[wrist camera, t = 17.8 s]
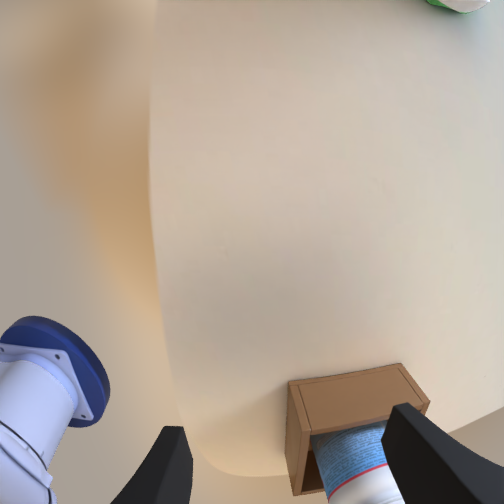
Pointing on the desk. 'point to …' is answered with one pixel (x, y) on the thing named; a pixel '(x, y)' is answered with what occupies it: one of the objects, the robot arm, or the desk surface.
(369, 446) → the pill bottle
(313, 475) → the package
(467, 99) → the desk surface
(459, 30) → the desk surface
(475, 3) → the cup
